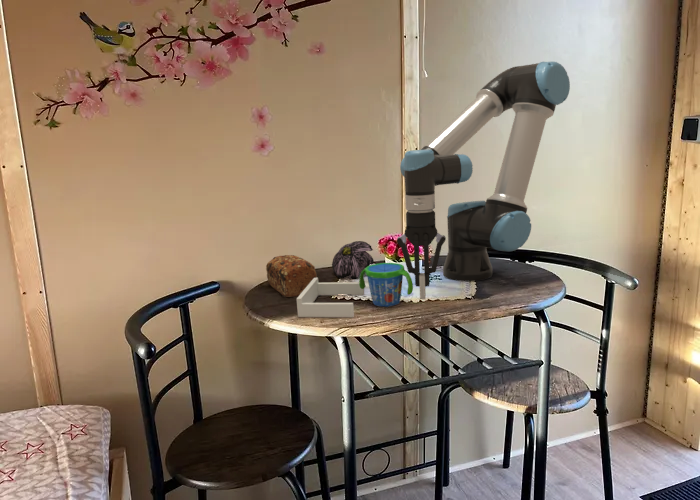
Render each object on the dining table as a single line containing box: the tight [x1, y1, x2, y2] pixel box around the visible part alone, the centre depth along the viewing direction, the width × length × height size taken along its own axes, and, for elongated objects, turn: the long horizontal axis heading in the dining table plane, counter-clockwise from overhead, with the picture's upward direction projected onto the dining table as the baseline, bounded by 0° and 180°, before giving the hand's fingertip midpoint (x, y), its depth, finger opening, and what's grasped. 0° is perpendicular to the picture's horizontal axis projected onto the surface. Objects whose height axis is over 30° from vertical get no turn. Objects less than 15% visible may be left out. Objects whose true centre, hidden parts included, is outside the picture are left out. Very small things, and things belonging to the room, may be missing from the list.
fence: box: [296, 277, 365, 318], centre depth 150 cm, size 15×20×5 cm
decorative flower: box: [331, 240, 374, 280], centre depth 179 cm, size 15×12×15 cm
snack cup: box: [358, 262, 414, 308], centre depth 148 cm, size 16×10×10 cm
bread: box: [265, 254, 317, 298], centre depth 167 cm, size 19×11×10 cm, turn 24°
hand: (422, 297), depth 146 cm, fingers closed
